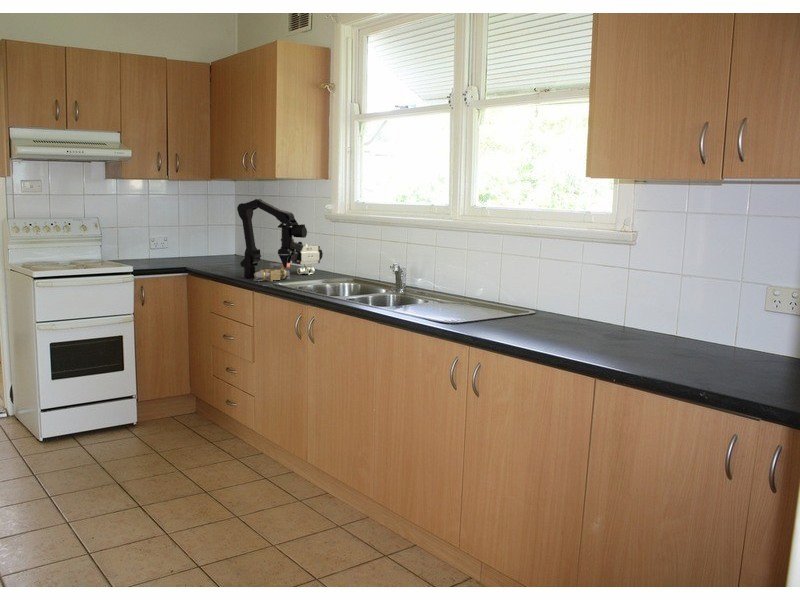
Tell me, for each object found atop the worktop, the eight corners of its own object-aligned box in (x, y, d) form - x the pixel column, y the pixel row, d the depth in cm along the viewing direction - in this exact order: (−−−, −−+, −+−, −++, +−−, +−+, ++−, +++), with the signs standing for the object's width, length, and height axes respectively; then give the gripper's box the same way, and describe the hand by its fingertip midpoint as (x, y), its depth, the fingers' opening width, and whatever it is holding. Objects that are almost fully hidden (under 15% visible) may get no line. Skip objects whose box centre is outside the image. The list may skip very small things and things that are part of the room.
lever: (267, 269, 375) (267, 262, 375) (271, 268, 379) (271, 261, 379) (287, 271, 371) (287, 263, 371) (291, 270, 375) (291, 263, 375)
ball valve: (297, 276, 395) (297, 244, 392) (288, 275, 401) (288, 243, 398) (324, 274, 406) (324, 243, 404) (315, 273, 413) (315, 242, 410)
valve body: (259, 282, 368) (259, 270, 368) (252, 281, 373) (252, 269, 372) (291, 279, 383) (291, 268, 382) (284, 278, 387) (284, 267, 386)
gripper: (299, 238, 364) (299, 269, 367) (305, 236, 383) (305, 265, 385) (277, 237, 365) (277, 268, 367) (284, 235, 383) (284, 264, 385)
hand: (286, 266), depth 376 cm, fingers open, 9 cm apart
